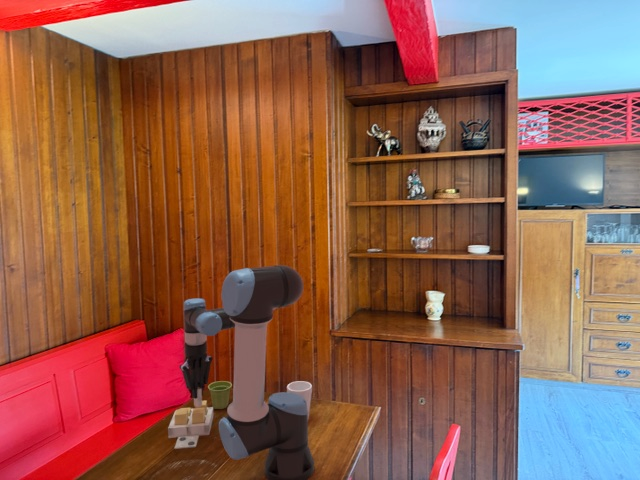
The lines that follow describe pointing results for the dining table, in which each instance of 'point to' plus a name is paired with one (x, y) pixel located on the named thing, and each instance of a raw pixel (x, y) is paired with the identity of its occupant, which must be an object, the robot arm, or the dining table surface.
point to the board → (191, 426)
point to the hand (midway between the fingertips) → (198, 405)
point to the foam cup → (301, 391)
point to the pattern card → (186, 442)
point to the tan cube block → (188, 410)
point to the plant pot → (220, 394)
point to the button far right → (203, 406)
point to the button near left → (181, 417)
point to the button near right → (198, 415)
